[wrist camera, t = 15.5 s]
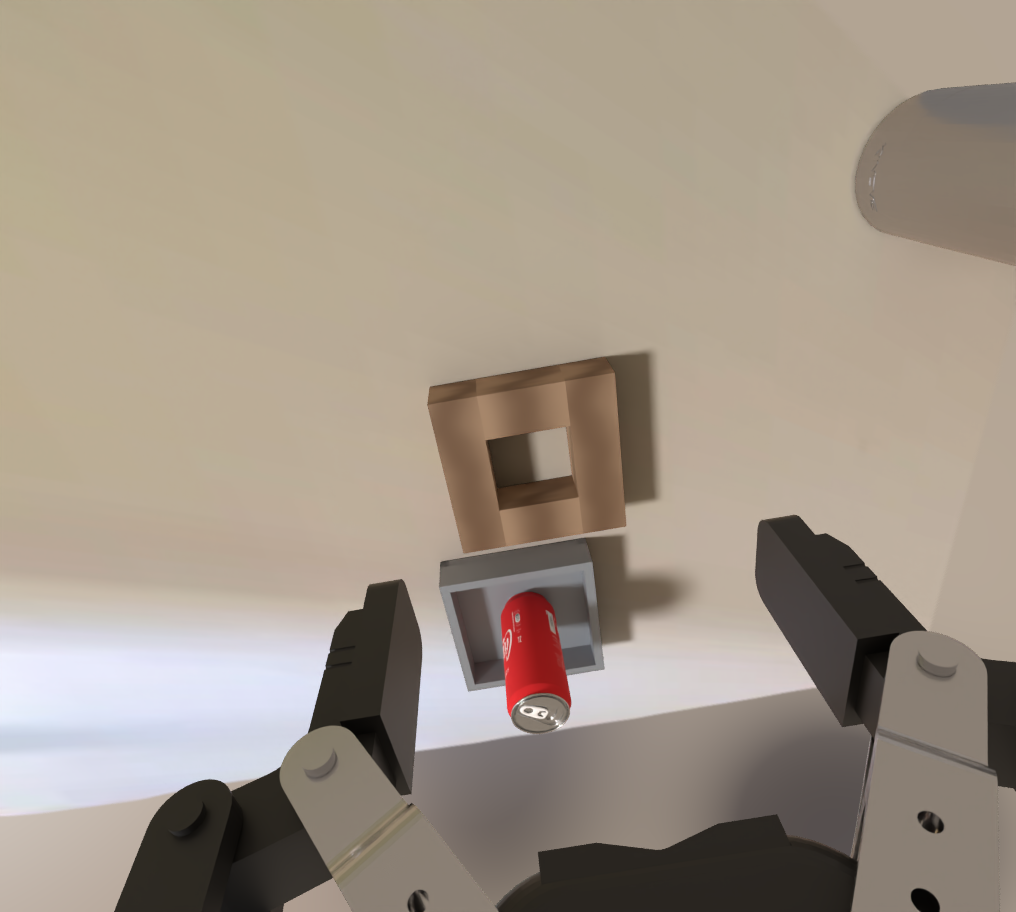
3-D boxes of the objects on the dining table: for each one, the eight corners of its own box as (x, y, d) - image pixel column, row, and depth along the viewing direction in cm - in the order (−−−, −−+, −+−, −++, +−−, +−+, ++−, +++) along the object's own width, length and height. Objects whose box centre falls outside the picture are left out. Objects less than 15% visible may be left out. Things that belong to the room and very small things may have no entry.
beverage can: (540, 633, 60) (556, 741, 49) (492, 621, 59) (498, 728, 48) (562, 596, 58) (584, 700, 47) (512, 582, 56) (523, 686, 46)
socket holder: (605, 356, 47) (614, 372, 44) (617, 503, 54) (626, 526, 51) (429, 387, 47) (427, 404, 44) (463, 529, 54) (463, 553, 51)
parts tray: (585, 537, 55) (592, 561, 52) (597, 642, 62) (604, 669, 59) (440, 562, 56) (439, 587, 53) (468, 663, 62) (468, 691, 59)
